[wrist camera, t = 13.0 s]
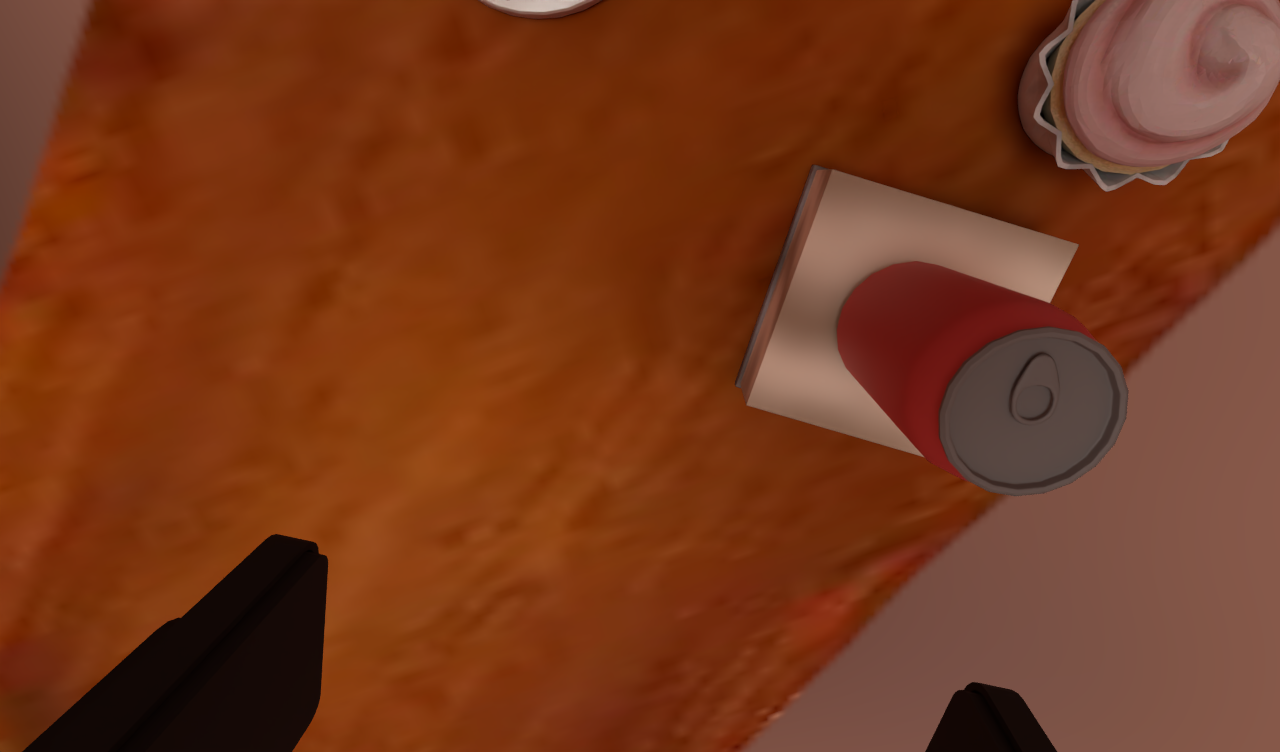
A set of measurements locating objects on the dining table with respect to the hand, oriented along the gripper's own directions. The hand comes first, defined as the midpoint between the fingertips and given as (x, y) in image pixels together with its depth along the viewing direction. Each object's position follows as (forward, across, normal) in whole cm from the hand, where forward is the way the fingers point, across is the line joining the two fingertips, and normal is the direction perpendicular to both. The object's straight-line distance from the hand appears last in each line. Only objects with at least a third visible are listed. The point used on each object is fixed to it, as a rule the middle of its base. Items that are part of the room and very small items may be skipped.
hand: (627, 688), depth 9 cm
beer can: (+23, -12, -2) cm, 26 cm away
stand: (+27, -12, -2) cm, 30 cm away
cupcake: (+28, -18, -15) cm, 36 cm away
